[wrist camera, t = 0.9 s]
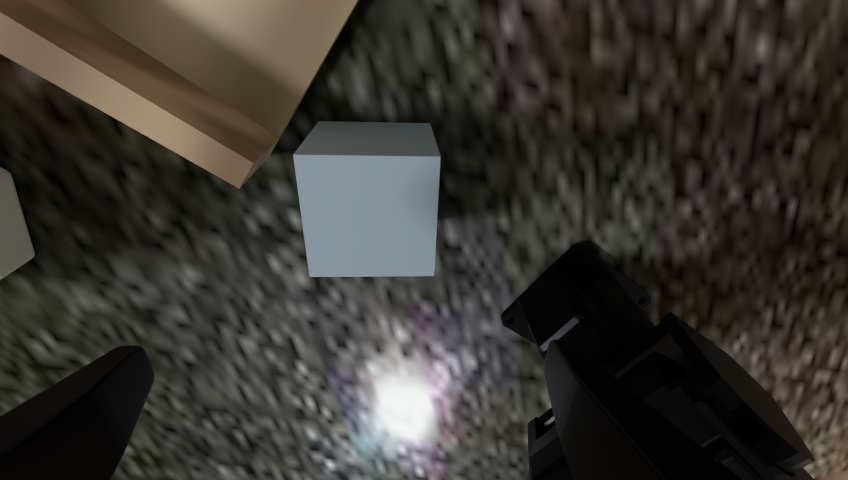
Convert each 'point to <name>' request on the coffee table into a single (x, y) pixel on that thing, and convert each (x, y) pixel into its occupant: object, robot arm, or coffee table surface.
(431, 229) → the cube
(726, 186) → the coffee table surface
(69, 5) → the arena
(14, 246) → the jar
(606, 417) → the robot arm
